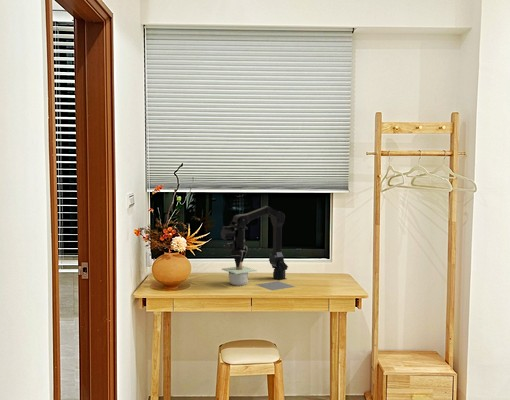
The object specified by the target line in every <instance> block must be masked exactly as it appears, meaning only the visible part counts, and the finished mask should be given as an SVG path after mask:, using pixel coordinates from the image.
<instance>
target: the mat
mask: <svg viewBox="0 0 510 400" xmlns="http://www.w3.org/2000/svg"><path fill="white" fill-rule="evenodd" d="M255 286H258V287H260V288H265V289H267V290H270V291H277V290H283V289H289V288H296V287H297V286H295V285H293V284H288V283H287V282H283V281H280V280H275V281H270V282H264V283H257V284H255Z"/></svg>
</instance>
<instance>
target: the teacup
mask: <svg viewBox="0 0 510 400" xmlns="http://www.w3.org/2000/svg"><path fill="white" fill-rule="evenodd" d="M228 279H229V283H230V284H231V285H232V286H236V287H238V286H239V287H240V286H241V287H243V286H246V284H247V283H248V281H249V272H247V273H240V274H234V273H231V272H228Z"/></svg>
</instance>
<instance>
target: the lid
mask: <svg viewBox="0 0 510 400" xmlns="http://www.w3.org/2000/svg"><path fill="white" fill-rule="evenodd" d="M221 270H222V271H225V272H228V273H229V272H231V273H234V274H240V273H247V272H248V273H254V272H257V271H258V270H257V269H254V268H252V267H251V268H250V267H248V266H243V262H240V265H239V267H236V266H232V267H231V266H230V267H226V268H221Z"/></svg>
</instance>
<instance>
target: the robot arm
mask: <svg viewBox="0 0 510 400" xmlns="http://www.w3.org/2000/svg"><path fill="white" fill-rule="evenodd" d="M265 215H266V216H268V217H269V218H270V222H271V224H272V252H271V253H269V255H268V257H269V258H268V262H269V264H270V266H271V268H272V269H273V272H272V280H275V281H285V280H287V278H286V271H287V270H288V268H289V266H288V264H286V263H285V259H284V255H283V253H282V229H283V225H284V223H285V218H286V216H285V213H284V212H282V211H278V210H277V209H274V208H272V207H270V206H267V205H264V206H263V207H261V208H258V209H255V210H252V211H249V212H247V213H239V214H235V215H233V218H232V220H231V221H230V222H229V223H230V224H229V225H228V226H222V229H221V231H220V238H221V239H222V240H228V239H229V240H230V239H233V240H232V241H231V242H227V243H226V242H225V243H224V245H223V249H224V250H225V251H224V252H227V251H229V250H231V251H230V256H231V257H232V258H233V259H234V263H235V267H239V265H240V262H242V263H243V262H244V259H245V258H246V255H247V252H248V248H249V247H248V246H247V245H245V242H246V239H245V236H246V235H245V234H246V233H245V230H246V231H247V230H249V228H248V227H247V226H246V225H248V224H249V223H250V222H251V221H253V220H255V219H258V218H261V217H262V216H263V217H264V216H265Z"/></svg>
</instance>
